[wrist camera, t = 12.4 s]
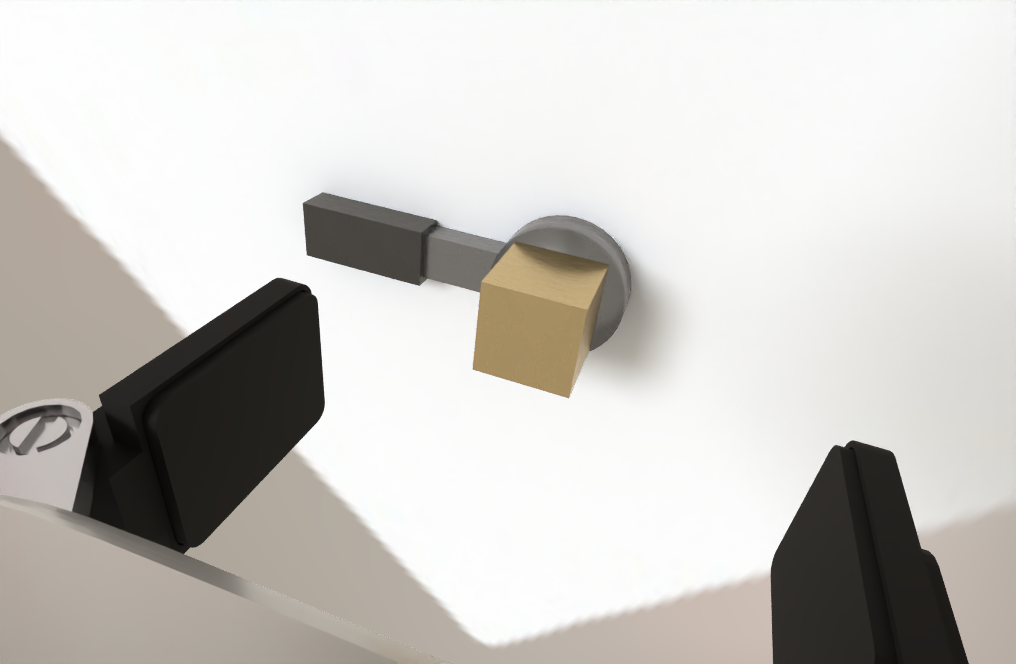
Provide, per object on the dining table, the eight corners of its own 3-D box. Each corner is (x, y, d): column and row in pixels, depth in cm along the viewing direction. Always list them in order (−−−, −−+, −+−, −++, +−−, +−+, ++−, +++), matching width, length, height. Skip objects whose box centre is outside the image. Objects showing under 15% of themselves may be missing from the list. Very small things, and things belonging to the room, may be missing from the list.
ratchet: (320, 158, 43) (260, 185, 38) (645, 233, 38) (627, 276, 33) (327, 272, 48) (274, 310, 43) (615, 351, 43) (596, 406, 38)
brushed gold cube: (515, 241, 39) (481, 281, 34) (609, 264, 37) (587, 309, 32) (505, 321, 42) (472, 369, 37) (591, 345, 40) (569, 398, 36)
